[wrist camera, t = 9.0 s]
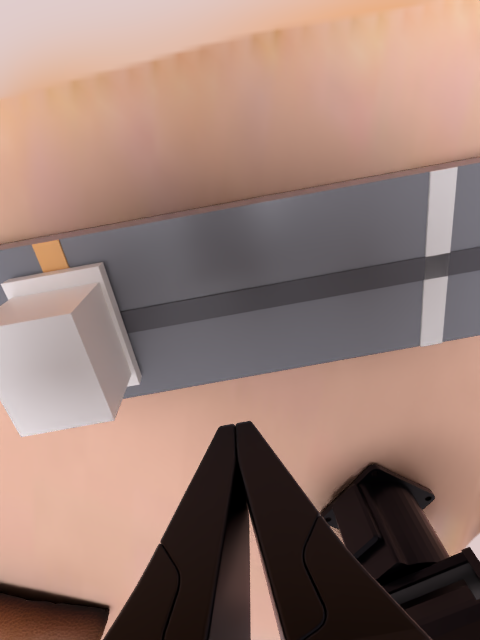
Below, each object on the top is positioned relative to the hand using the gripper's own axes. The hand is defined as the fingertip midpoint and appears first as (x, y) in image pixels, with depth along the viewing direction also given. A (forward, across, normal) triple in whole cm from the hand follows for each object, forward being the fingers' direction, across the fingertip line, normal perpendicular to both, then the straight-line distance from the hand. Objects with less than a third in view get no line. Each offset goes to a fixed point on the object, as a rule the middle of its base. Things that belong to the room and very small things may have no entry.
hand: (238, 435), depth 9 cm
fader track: (+11, -2, 0) cm, 12 cm away
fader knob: (+9, +7, 0) cm, 12 cm away
